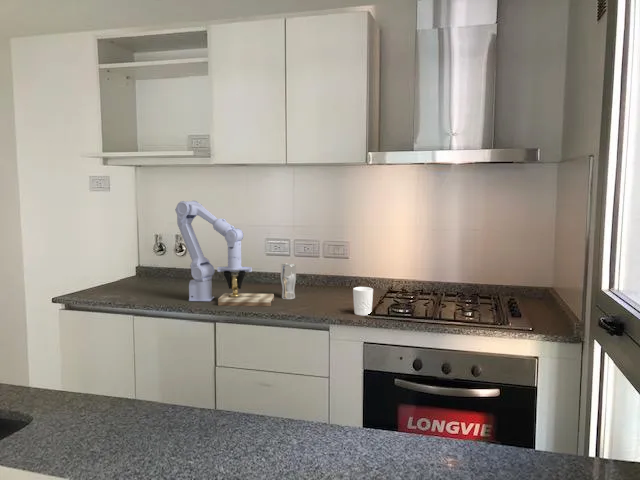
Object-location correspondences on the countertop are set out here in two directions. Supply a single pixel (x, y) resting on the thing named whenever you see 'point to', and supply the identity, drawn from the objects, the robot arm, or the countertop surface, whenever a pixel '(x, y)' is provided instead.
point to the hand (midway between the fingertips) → (235, 288)
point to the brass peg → (235, 285)
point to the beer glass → (288, 280)
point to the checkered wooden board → (246, 300)
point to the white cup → (362, 300)
